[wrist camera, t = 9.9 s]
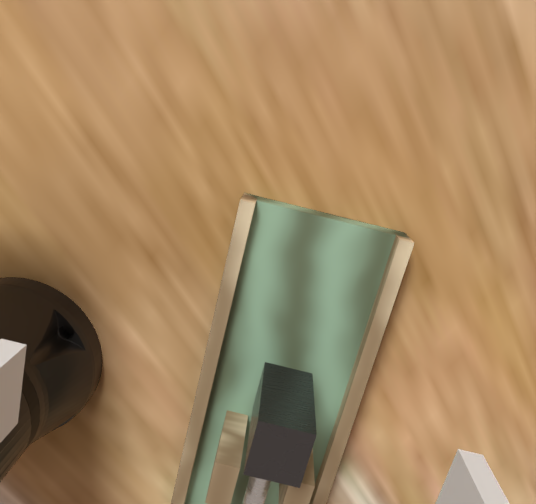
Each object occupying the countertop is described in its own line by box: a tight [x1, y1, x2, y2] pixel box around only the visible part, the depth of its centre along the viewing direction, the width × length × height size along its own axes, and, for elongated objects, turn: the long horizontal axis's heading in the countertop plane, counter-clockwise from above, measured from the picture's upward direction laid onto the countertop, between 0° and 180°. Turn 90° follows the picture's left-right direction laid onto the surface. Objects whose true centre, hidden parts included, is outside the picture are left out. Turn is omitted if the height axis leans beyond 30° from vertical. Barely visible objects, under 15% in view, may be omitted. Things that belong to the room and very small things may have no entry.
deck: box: [171, 193, 414, 504], centre depth 44 cm, size 14×46×9 cm, turn 166°
